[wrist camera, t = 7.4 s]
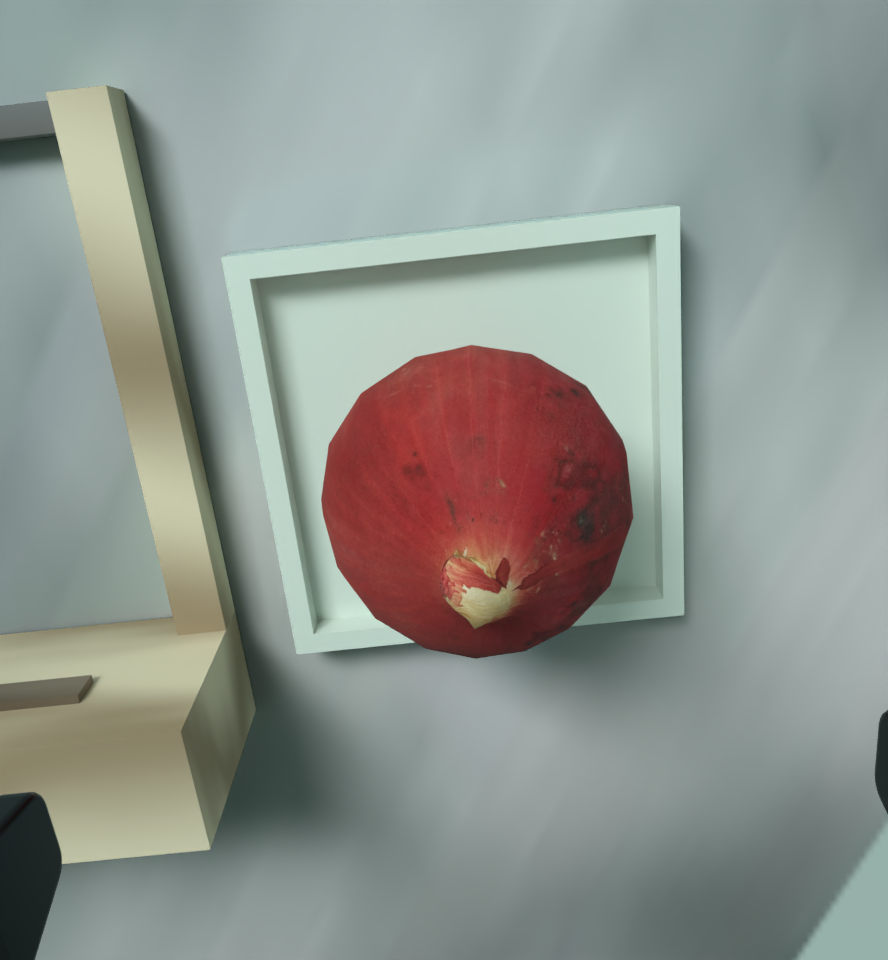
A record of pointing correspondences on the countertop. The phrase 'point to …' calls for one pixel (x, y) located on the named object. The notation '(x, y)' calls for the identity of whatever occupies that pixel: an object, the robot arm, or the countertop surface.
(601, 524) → the onion
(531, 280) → the tray
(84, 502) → the countertop surface
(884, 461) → the countertop surface
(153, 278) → the open rectangular frame
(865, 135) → the countertop surface
